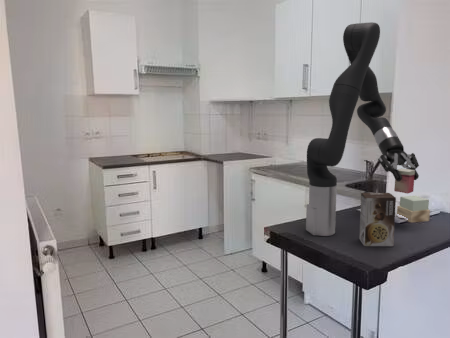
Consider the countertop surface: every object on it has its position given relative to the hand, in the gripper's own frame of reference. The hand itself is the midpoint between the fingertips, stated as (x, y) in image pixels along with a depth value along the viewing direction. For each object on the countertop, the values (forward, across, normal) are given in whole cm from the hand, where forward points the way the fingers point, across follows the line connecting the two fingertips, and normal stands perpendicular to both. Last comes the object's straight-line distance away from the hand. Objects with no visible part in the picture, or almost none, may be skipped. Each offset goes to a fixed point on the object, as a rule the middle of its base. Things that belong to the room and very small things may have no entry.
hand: (408, 179), depth 124 cm
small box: (+2, 0, +5) cm, 5 cm away
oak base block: (+6, +12, +21) cm, 25 cm away
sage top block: (+3, +12, +18) cm, 21 cm away
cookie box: (+19, -17, +7) cm, 27 cm away
